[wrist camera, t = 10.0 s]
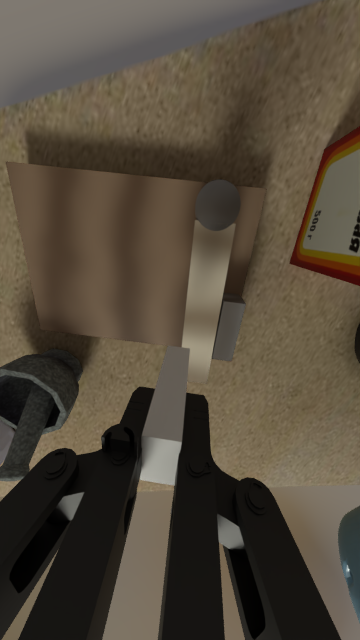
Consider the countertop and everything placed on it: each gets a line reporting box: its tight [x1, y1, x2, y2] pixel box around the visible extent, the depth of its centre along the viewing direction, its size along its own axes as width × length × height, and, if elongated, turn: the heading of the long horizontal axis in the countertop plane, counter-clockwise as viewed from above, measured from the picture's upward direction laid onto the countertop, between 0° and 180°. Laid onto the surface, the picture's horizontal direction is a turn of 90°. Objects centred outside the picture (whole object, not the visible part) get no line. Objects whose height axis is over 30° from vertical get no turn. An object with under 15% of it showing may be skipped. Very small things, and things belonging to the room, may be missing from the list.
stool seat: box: [6, 162, 267, 361], centre depth 19 cm, size 22×16×6 cm
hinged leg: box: [182, 180, 241, 384], centre depth 18 cm, size 18×3×3 cm, turn 175°
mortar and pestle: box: [0, 348, 83, 481], centre depth 23 cm, size 11×9×12 cm
